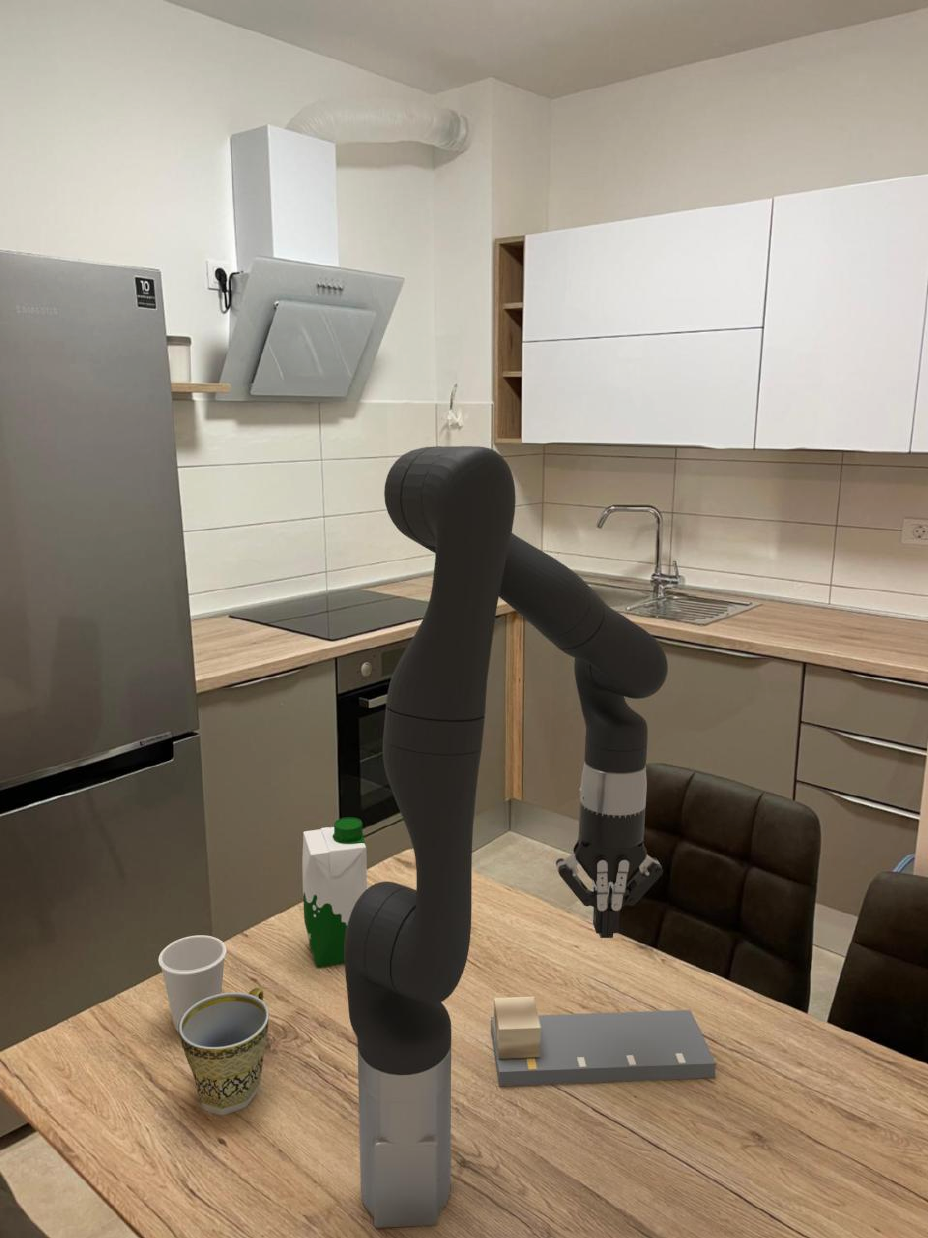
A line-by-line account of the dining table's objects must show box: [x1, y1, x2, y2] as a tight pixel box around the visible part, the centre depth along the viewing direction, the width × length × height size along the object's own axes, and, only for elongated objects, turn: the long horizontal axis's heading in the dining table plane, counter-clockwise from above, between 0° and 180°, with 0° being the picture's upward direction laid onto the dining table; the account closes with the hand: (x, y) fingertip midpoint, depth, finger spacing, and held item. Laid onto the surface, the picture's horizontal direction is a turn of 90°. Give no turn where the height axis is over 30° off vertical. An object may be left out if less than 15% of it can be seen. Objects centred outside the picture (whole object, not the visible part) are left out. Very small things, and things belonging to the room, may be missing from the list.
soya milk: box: [301, 816, 368, 969], centre depth 134 cm, size 9×9×20 cm
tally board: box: [490, 1009, 717, 1088], centre depth 115 cm, size 10×26×2 cm, turn 94°
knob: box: [493, 996, 541, 1059], centre depth 113 cm, size 6×5×4 cm
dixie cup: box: [158, 934, 228, 1033], centre depth 119 cm, size 8×8×10 cm
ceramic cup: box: [178, 987, 270, 1116], centre depth 108 cm, size 13×10×10 cm
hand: (605, 934), depth 111 cm, fingers closed
